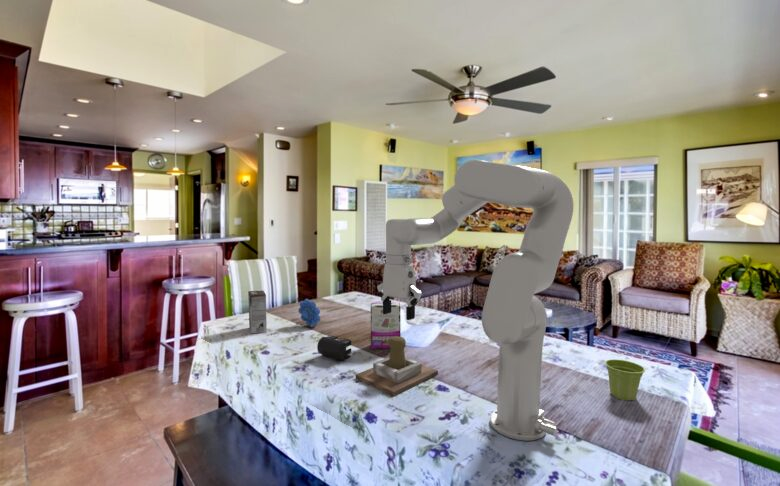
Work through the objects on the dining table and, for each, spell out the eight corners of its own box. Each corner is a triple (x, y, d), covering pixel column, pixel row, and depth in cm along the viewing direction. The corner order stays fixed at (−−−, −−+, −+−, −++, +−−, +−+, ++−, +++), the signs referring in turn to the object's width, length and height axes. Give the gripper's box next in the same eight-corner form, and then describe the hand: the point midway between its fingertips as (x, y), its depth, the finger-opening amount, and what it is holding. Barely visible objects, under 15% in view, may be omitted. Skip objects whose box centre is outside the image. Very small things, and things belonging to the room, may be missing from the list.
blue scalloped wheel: (292, 326, 168) (292, 299, 167) (302, 322, 174) (302, 296, 173) (314, 330, 163) (314, 302, 162) (323, 326, 169) (323, 299, 168)
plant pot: (607, 385, 113) (608, 356, 112) (645, 394, 107) (647, 364, 106) (600, 396, 106) (601, 366, 105) (640, 408, 100) (642, 375, 99)
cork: (405, 377, 114) (405, 341, 113) (385, 375, 115) (385, 340, 115) (408, 369, 120) (408, 335, 119) (389, 367, 121) (389, 333, 120)
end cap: (316, 357, 133) (316, 338, 132) (330, 351, 139) (330, 333, 138) (339, 364, 127) (339, 344, 127) (352, 357, 133) (352, 338, 133)
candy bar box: (399, 344, 147) (400, 302, 145) (400, 349, 142) (401, 305, 140) (370, 344, 146) (370, 302, 145) (370, 349, 141) (370, 305, 140)
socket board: (437, 374, 119) (438, 361, 119) (393, 396, 105) (393, 381, 105) (400, 360, 131) (400, 348, 130) (355, 378, 116) (355, 364, 116)
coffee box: (248, 327, 166) (247, 291, 165) (264, 326, 169) (263, 289, 168) (250, 333, 158) (249, 295, 157) (267, 331, 161) (266, 294, 159)
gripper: (428, 261, 112) (428, 319, 113) (386, 257, 124) (386, 309, 125) (412, 263, 106) (412, 324, 107) (369, 259, 118) (370, 313, 119)
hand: (398, 316), depth 116 cm, fingers open, 9 cm apart
